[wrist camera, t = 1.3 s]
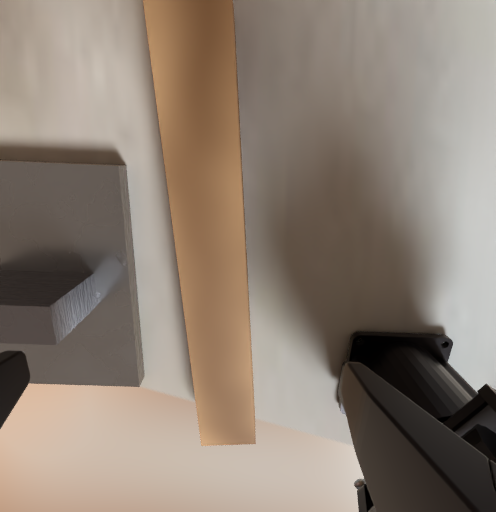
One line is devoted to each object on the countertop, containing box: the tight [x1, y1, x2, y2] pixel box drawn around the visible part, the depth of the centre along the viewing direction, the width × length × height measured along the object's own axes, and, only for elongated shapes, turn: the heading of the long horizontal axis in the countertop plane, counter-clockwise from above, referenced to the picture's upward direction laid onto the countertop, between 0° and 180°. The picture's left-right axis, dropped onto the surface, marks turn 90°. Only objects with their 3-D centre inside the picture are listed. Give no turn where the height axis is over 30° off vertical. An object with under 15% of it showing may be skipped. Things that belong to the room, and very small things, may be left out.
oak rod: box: [143, 0, 255, 446], centre depth 17 cm, size 4×24×3 cm, turn 3°
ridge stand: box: [0, 160, 144, 387], centre depth 16 cm, size 10×14×5 cm
